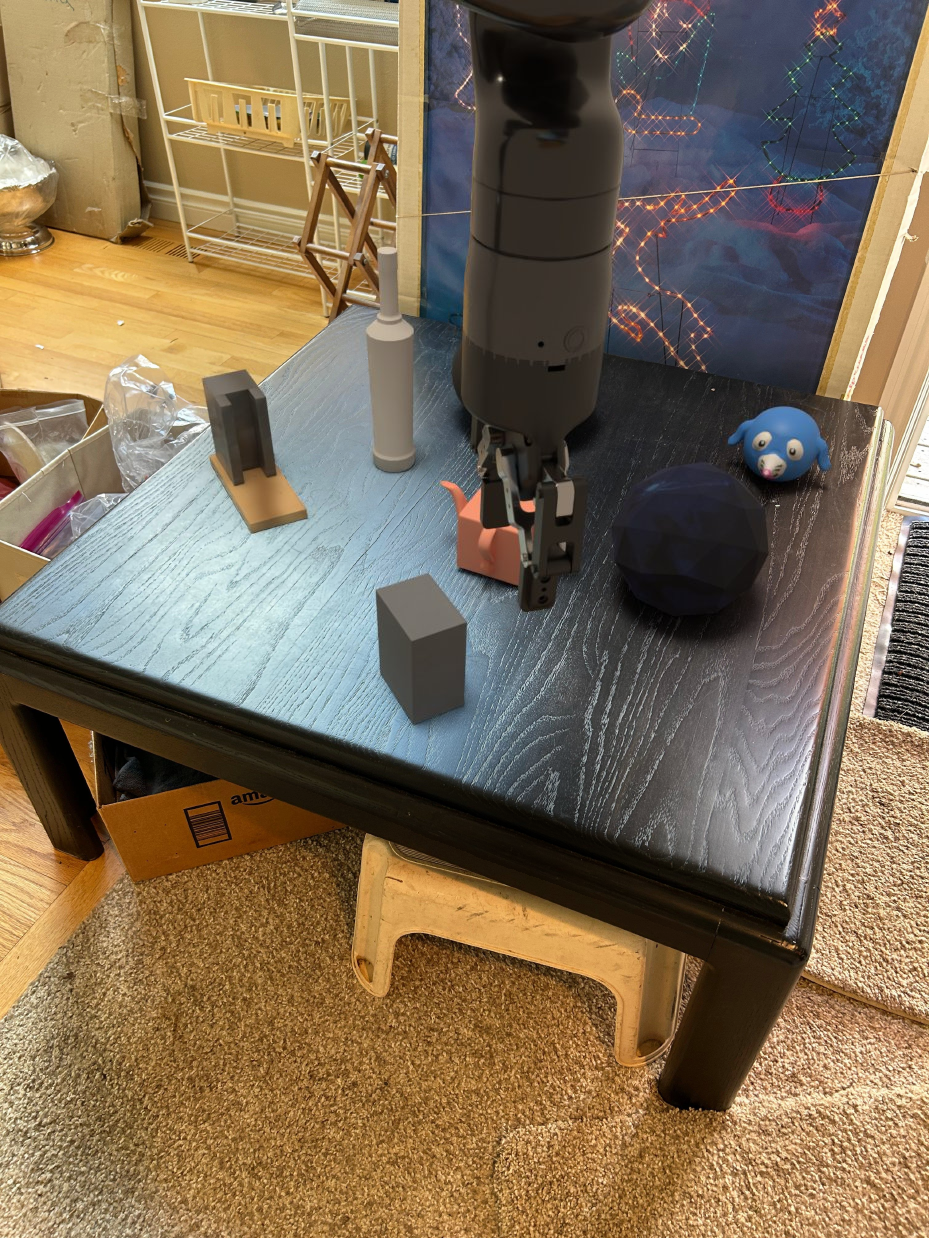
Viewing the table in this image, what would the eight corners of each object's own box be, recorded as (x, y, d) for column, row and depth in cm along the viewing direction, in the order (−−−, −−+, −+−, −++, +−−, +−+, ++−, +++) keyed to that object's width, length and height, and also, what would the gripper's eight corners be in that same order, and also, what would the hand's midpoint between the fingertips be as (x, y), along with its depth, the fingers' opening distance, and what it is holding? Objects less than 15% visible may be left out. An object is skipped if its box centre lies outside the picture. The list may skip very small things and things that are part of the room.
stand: (251, 533, 97) (236, 442, 89) (210, 463, 107) (193, 377, 99) (307, 517, 99) (297, 428, 92) (262, 451, 109) (249, 365, 102)
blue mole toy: (704, 492, 105) (720, 428, 99) (732, 445, 113) (748, 383, 107) (809, 522, 101) (831, 458, 95) (829, 471, 109) (851, 409, 103)
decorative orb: (555, 537, 89) (649, 473, 76) (647, 480, 97) (746, 413, 84) (634, 659, 89) (741, 614, 76) (719, 592, 97) (829, 541, 84)
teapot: (550, 613, 89) (558, 546, 83) (414, 569, 93) (413, 503, 87) (590, 547, 97) (599, 481, 91) (463, 509, 101) (465, 445, 95)
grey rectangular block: (413, 724, 78) (411, 641, 71) (370, 658, 83) (365, 575, 77) (464, 705, 79) (467, 621, 73) (419, 642, 85) (418, 559, 78)
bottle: (368, 471, 106) (356, 257, 90) (378, 448, 110) (368, 239, 93) (411, 475, 106) (407, 262, 89) (419, 452, 110) (417, 243, 93)
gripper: (433, 275, 51) (432, 508, 62) (504, 395, 41) (489, 648, 52) (557, 265, 53) (536, 495, 64) (656, 378, 43) (610, 628, 54)
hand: (515, 564), depth 58 cm, fingers open, 8 cm apart
